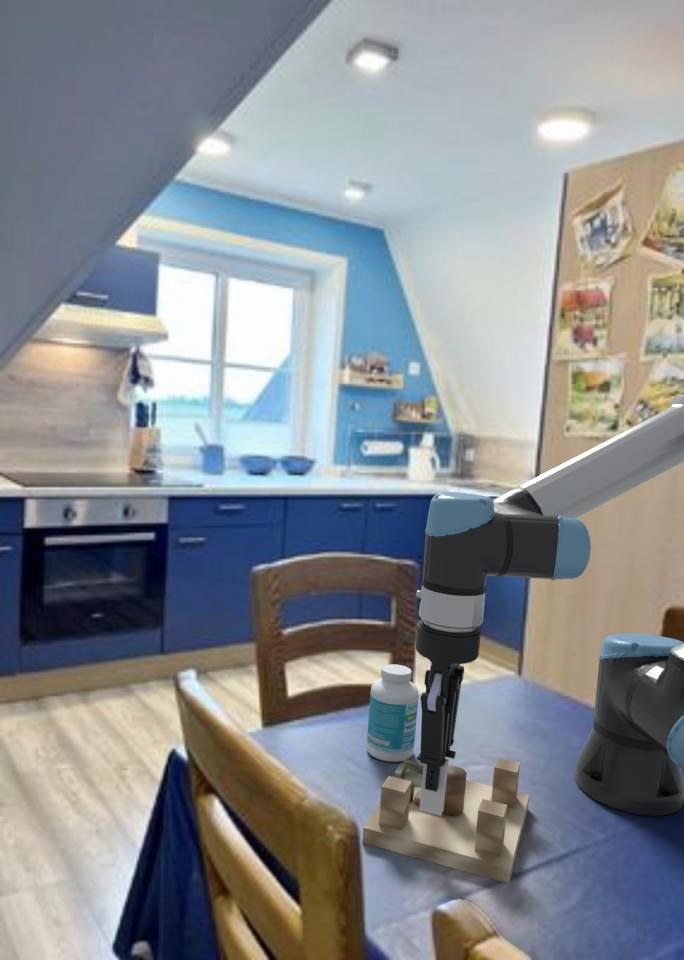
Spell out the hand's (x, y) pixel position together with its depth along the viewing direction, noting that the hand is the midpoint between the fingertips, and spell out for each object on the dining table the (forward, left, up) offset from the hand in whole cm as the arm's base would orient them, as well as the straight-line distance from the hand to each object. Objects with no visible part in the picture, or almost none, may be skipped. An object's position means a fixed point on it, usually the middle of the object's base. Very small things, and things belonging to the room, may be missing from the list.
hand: (431, 810), depth 93 cm
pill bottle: (+12, -23, -5) cm, 26 cm away
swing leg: (0, -7, -3) cm, 7 cm away
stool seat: (-1, -7, -5) cm, 9 cm away
